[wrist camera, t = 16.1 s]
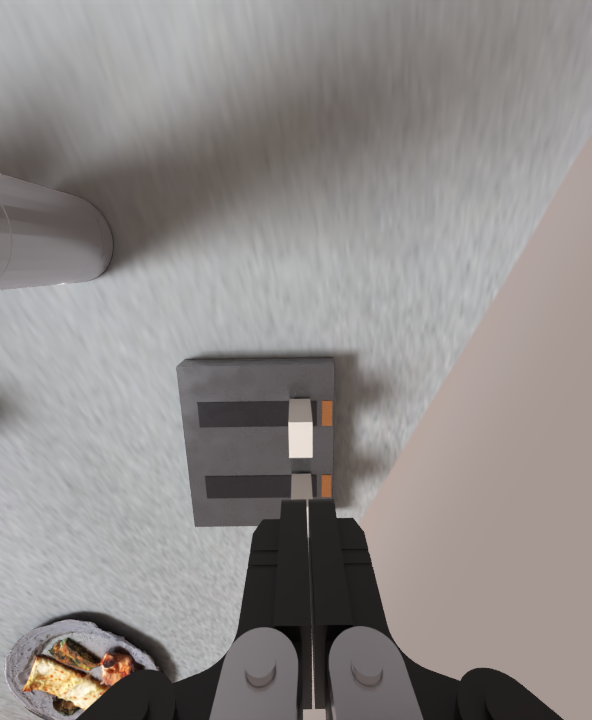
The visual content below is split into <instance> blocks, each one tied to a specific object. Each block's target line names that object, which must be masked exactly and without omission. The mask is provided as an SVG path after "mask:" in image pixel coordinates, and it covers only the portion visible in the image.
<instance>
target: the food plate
mask: <svg viewBox="0 0 592 720" xmlns="http://www.w3.org/2000/svg"><path fill="white" fill-rule="evenodd" d="M96 627H97V628H96ZM69 633H76V634H79V633H83V634H85V635H87V636H88V637H86V638H85V639H86V641H87V642H86V643H85V641H84V638H83V637H85V636H83V637H82V638H81V639H82V641H79V642H78V643H81V644H82V642H83V644H82V645H80V644H76V643H75V642H74V641H72V640H70V639H69V638H68V637H66V639H64V640H58V641H56V642H55V643H54V645H53V647H52V649H51V650H48V652H50V654H52V656H53V657H52V656H49V655H43V654H41V653H42V652H43V650H44V649H45V648H46V647H47V646H48V644H49V643H50V642H51V641H52V640H53V639H54V638H56V637H58V636H62V635H63V634H64V635H65V634H69ZM71 635H72V636H73V634H71ZM80 635H81V634H80ZM80 635H79V636H80ZM91 635H92V636H94V637H98V639H100V641H101V643H100V644H99V643H97V642H98V641H97V640H95V641H94V640H93V639H91V637H90V636H91ZM96 635H100V636H96ZM79 636H78V637H79ZM94 637H93V638H94ZM103 637H104V638H103ZM87 638H88V639H89V640H87ZM124 638H125V637H123V636H118V635H114V634H112V633H111V632H109V631H107V632H106V631H103V630H101V628H98V626H97V625H96V624H95V623H92V622H88V621H82V620H80V621H79V620H77V621H75V620H74V619H73V620H71V619H69V620H62V621H60V622H58V621H57V622H56V623H55V622H54V623H53V624H51V625H47V626H44V627H39V628H37V629H34V630H33V631H31V632H29V633H28V634H26V635H24V636H23V637H22V638H21V639H19V641H18V642H17V643H16V644H15V645H14V646H13V648H12V649H11V650H10V652H9V653H8V654H7V656H6V657H5V672H4V673H5V674H4V675H5V677H6V682H7V684H8V687H9V689H10V690H11V692H12V694H14V696H15V697H17V698H18V699H19V700H20V701H21V702H22V703H23V704H24V705H25V706H26V707H28V708H30V709H31V710H33V711H34V712H33V711H31V710H30V709H28V710H29V711H30V712H32V713H33V714H35V715H37V716H38V717H40V718H42V719H45V720H75V719H77V718H78V717H79V716H80V715H81V714H82V713H83V712H84V711H85V710H86V709H87V708H88V707H90V706H91V705H92V704H93V703H94V702H95V701H96V700H97V699H98V698H99V697H100V696H101V695H103V694H104V693H105V692H106V691H107V690H108V689H109V688H110V687H111V686H112V685H114V684H115V683H116V682H117V681H119V680H120V679H122V678H123V677H125V676H127V675H129V674H131V673H133V672H136V671H139V670H145V669H151V670H157V671H160V667H156V666H155V664H154V663H155V660H154V658H152V657H151V656H150V655H147V654H146V653H145V652H144V653H145V654H144V653H143V652H142V651H141V650H140V649H138V648H136V647H135V646H134V645H132V644H131V643H129V642H128V641H126V640H125V639H124ZM94 639H96V638H94ZM88 642H89V643H88ZM105 643H107V644H105ZM143 651H144V650H143ZM25 706H24V707H25ZM26 707H25V708H26ZM35 712H36V713H38V714H40V715H42V716H40V715H38V714H36V713H35Z"/></svg>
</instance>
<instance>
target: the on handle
mask: <svg viewBox="0 0 592 720" xmlns="http://www.w3.org/2000/svg"><path fill="white" fill-rule="evenodd" d="M288 430H289V458H313V422H312V412H311V402H310V399H289V419H288Z"/></svg>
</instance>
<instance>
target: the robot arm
mask: <svg viewBox="0 0 592 720" xmlns="http://www.w3.org/2000/svg"><path fill="white" fill-rule="evenodd" d="M112 252H113V239H112V235H111V231H110V228H109V226H108V224H107V222H106V220H105V219H104V217H103V216H102V214H101V213H100V212H99V211H98V210H97V209H96V208H95V207H94V206H93V205H92V204H90V203H89V202H87V201H86V200H84V199H82V198H79V197H77V196H74V195H71V194H67V193H64V192H61V191H57V190H54V189H51V188H48V187H44V186H41V185H37V184H34V183H31V182H27V181H24V180H20V179H17V178H13V177H10V176H7V175H3V174H0V290H4V289H15V288H25V287H36V286H46V285H57V284H68V283H78V282H85V281H90V280H92V279H94V278H96V277H98V276H99V275H100V274H101V273H103V272H104V271H105V269H106V268H107V266H108V265H109V263H110V260H111V257H112ZM308 538H309V552H308ZM309 575H310V576H309ZM311 622H312V623H311ZM312 646H313V670H314V693H315V709H325V710H326V720H563V719H562V718H561V717H560V716H559V715H557V714H556V713H555V712H554V711H553V710H551V709H550V708H549V707H548V706H547V705H545V704H544V703H543V702H542V701H540V700H539V699H538V698H537V697H536V696H535V695H533V694H532V693H531V692H530V691H529V690H527V689H526V688H525V687H524V686H523V685H521V684H520V683H519V682H517V681H516V680H515V679H513V678H512V677H510V676H508V675H506V674H504V673H502V672H500V671H497V670H494V669H490V668H476V669H473V670H470V671H469V672H467V673H466V674H465V675H464V676H463V677H462V679H461V681H459V680H456V679H453V678H450V677H447V676H445V675H442V674H439V673H436V672H433V671H431V670H428V669H426V668H424V667H422V666H420V665H418V664H417V663H415V662H414V661H412V660H411V659H409V658H408V657H407V656H406V655H405V654H404V653H403V652H402V651H401V650H400V648H399V647H398V646H397V645H396V643H395V641H394V640H393V638H392V636H391V634H390V632H389V629H388V626H387V622H386V618H385V614H384V610H383V606H382V602H381V598H380V594H379V590H378V586H377V582H376V578H375V574H374V570H373V567H372V562H371V558H370V554H369V552H368V546H367V542H366V538H365V534H364V531H363V530H362V529H361V528H360V526H359V525H358V524H357V522H356V521H355V520H354V519H353V518H336V511H335V505H334V500H333V499H308V528H307V504H306V499H289V500H281V514H280V519H263V520H262V521H261V523H260V524H259V526H258V527H257V528H256V530H255V531H254V533H253V537H252V543H251V550H250V556H249V562H248V569H247V575H246V581H245V588H244V594H243V600H242V606H241V613H240V619H239V625H238V630H237V634H236V637H235V639H234V642H233V643H232V645H231V647H230V649H229V650H228V651H227V653H226V654H225V655H224V656H223V657H222V658H221V659H220V660H219V661H218V662H217V663H216V664H215V665H213V666H212V667H210V668H209V669H207V670H205V671H203V672H201V673H198V674H196V675H193V676H191V677H188V678H186V679H183V680H181V681H178V682H176V683H173V684H172V683H171V681H170V680H169V678H168V677H167V676H166V675H165V674H163V673H161V672H160V671H157V670H151V669H145V670H139V671H136V672H133V673H131V674H129V675H127V676H125V677H123V678H122V679H120V680H119V681H117V682H116V683H115V684H114V685H112V686H111V687H110V688H109V689H108V690H107V691H106V692H105V693H104V694H103V695H101V696H100V697H99V698H98V699H97V700H96V701H95V702H94V703H93V704H92V705H91V706H90V707H88V708H87V709H86V710H85V711H84V712H83V713H82V714H81V715H80V716H79V717H78V718H77V719H75V720H303V709H312Z"/></svg>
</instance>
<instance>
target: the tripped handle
mask: <svg viewBox="0 0 592 720" xmlns="http://www.w3.org/2000/svg"><path fill="white" fill-rule="evenodd" d="M291 499H306V504H307V528H308V499H313V496H312V482H311V474H292V478H291Z"/></svg>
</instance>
